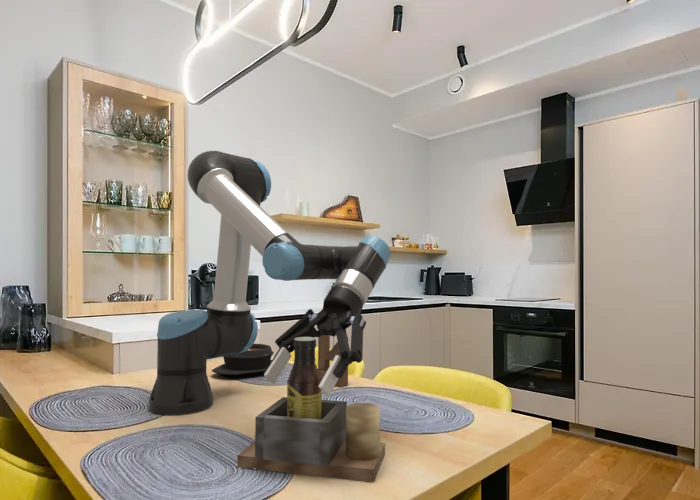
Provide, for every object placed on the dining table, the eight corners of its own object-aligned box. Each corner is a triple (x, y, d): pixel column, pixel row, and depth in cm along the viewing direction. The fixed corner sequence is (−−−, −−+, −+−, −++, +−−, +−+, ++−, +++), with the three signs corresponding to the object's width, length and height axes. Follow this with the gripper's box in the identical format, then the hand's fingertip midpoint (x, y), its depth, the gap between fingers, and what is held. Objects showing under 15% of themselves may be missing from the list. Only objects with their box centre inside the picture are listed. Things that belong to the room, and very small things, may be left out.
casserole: (240, 383, 142) (240, 355, 142) (198, 375, 152) (198, 349, 152) (293, 369, 163) (293, 344, 163) (253, 363, 173) (254, 339, 173)
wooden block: (339, 387, 138) (340, 325, 138) (314, 381, 145) (315, 322, 146) (348, 385, 140) (348, 324, 141) (323, 379, 148) (324, 321, 148)
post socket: (236, 468, 82) (236, 409, 82) (265, 441, 95) (266, 390, 95) (373, 483, 76) (373, 420, 77) (385, 452, 89) (385, 398, 90)
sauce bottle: (287, 441, 89) (288, 335, 90) (321, 440, 90) (321, 334, 90) (285, 455, 83) (286, 340, 83) (321, 454, 83) (322, 340, 84)
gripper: (406, 312, 91) (359, 409, 79) (311, 306, 107) (259, 386, 94) (391, 286, 87) (339, 383, 75) (294, 282, 103) (238, 363, 90)
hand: (294, 385), depth 85 cm, fingers open, 13 cm apart
